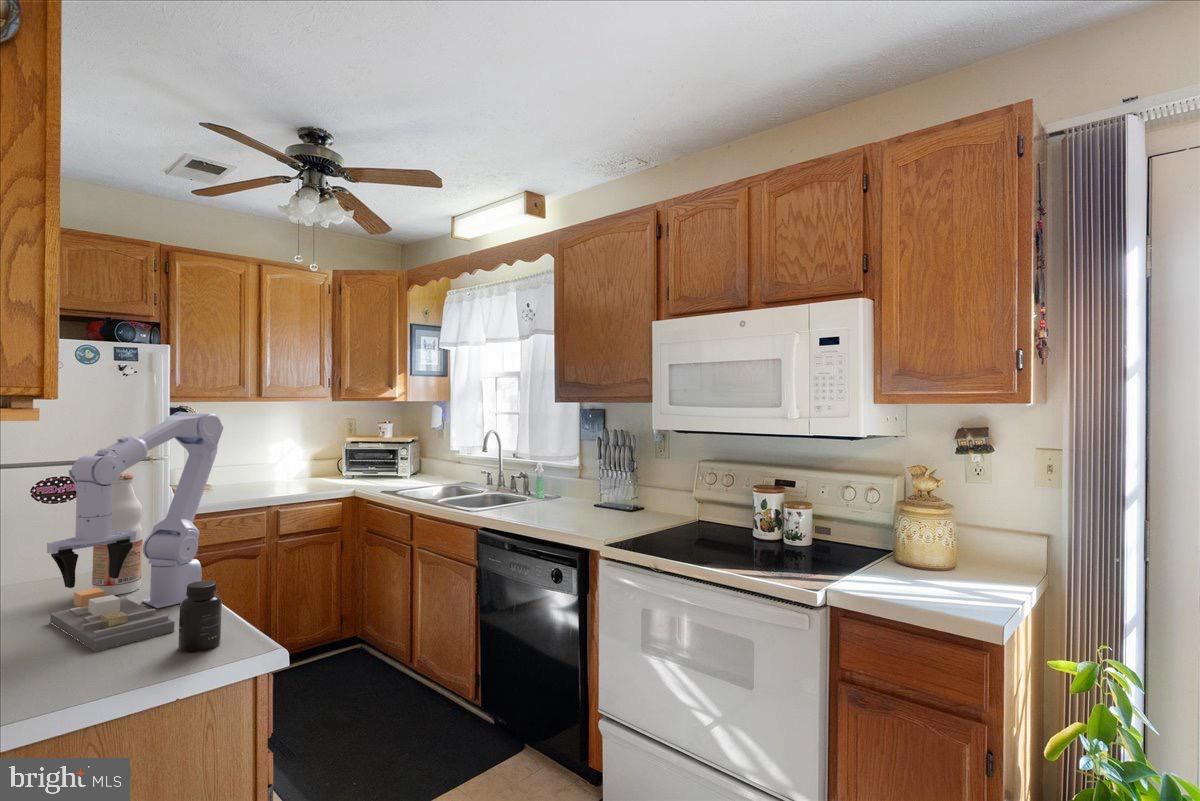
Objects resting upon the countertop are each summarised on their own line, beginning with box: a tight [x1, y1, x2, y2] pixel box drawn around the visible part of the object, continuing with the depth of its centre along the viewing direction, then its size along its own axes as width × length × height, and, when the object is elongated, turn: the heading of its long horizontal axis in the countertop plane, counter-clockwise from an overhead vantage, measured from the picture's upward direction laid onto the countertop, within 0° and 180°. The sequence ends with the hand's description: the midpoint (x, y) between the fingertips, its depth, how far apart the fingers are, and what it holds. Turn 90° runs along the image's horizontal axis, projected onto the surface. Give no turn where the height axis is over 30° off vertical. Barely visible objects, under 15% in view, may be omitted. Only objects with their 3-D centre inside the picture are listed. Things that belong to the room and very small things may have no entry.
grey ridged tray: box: [49, 597, 175, 652], centre depth 127 cm, size 13×24×3 cm, turn 56°
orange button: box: [73, 587, 105, 608], centre depth 131 cm, size 4×4×2 cm
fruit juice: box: [91, 473, 144, 596], centre depth 151 cm, size 9×9×28 cm
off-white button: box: [88, 595, 121, 616], centre depth 127 cm, size 4×4×2 cm
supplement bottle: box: [178, 580, 223, 654], centre depth 119 cm, size 7×7×12 cm
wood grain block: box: [101, 611, 128, 629], centre depth 122 cm, size 3×4×2 cm
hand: (92, 582), depth 126 cm, fingers open, 7 cm apart
